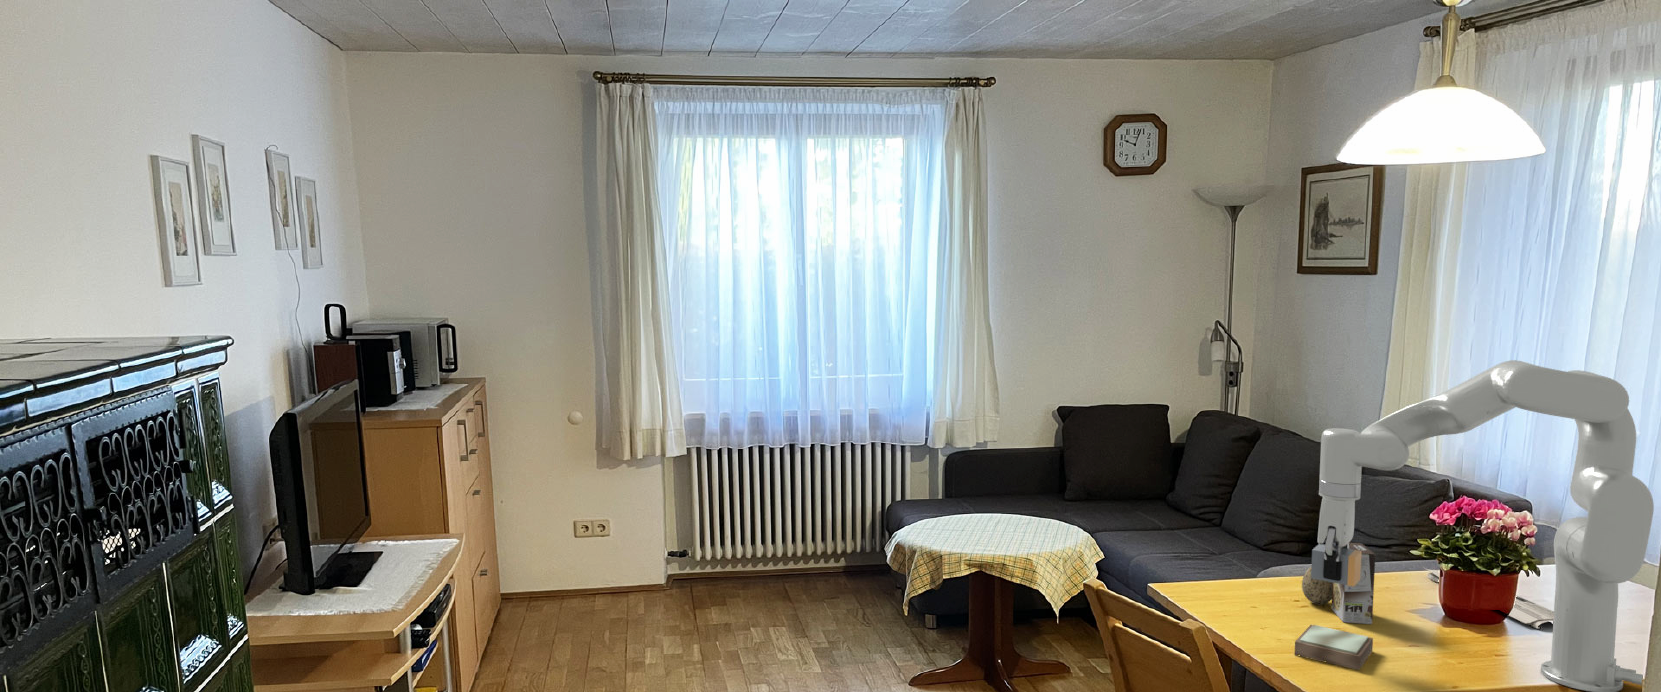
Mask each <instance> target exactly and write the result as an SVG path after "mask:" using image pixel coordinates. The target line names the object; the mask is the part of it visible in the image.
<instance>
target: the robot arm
mask: <svg viewBox="0 0 1661 692" xmlns="http://www.w3.org/2000/svg"><path fill="white" fill-rule="evenodd" d="M1629 405H1630V397H1629V394H1628V391H1627V390H1626V388H1625V386H1623V385H1622V383H1621V382H1618V381H1617V380H1615V379H1613V378H1610V377H1608V376H1604V375H1600V374H1598V373H1594V372H1590V371H1586V370H1578V369H1577V370H1569V371H1566V370H1560V369H1555V368H1549V367H1544V366H1540V365H1536V364H1532V363H1530V362H1526V361H1521V360H1518V359H1517V360H1515V359H1514V360H1513V359H1511V360H1506V361H1502V362H1500V363H1498V364H1496V365H1494V366H1492V367H1490V368H1488V369H1486V370H1484V371H1482V372H1480V373H1478V374H1476V375H1475V376H1473V377H1471V378H1469V379H1466V380H1465V381H1463V382H1461V383H1459V384H1457V385H1455V386H1454V387H1451V388H1449V389H1447V390H1446V391H1444V392H1441V393H1439V394H1437V395H1435V396H1432V397H1429V398H1427V399H1424V400H1422V401H1420V402H1417V403H1413V404H1411V405H1409V406H1406V407H1403V408H1402V409H1399V410H1396V411H1395V412H1393V413H1390V414H1388V415H1386V416H1384V417H1383V418H1381V419H1379V420H1377V421H1375V422H1373V423H1371V424H1370V425H1368V426H1367V427H1365V428H1364V429H1363V430H1362V431H1361V432H1360V431H1358V430H1355V429H1350V428H1342V427H1341V428H1337V427H1334V428H1333V427H1332V428H1327V429H1325V430H1324V431H1323V432H1322V433H1321V436H1320V437H1321V438H1320V458H1319V459H1320V460H1319V461H1320V463H1319V481H1318V483H1319V485H1318V486H1319V487H1318V495H1319V496H1320V497H1322V499H1321V502H1320V503H1321V504H1320V509H1319V520H1318V531H1317V543H1318V544H1323V545H1325V554H1324V569H1323V577H1324V578H1325V579H1331V580H1336V581H1340V580H1341V568H1342V561H1340V557H1341V549H1342V548H1346V549H1349V543H1351V541H1352V539H1353V538H1354V533H1355V532H1354V531H1355V515H1356V514H1355V513H1356V508H1355V507H1356V501H1358V500H1360V499H1361V490H1362V488H1361V487H1362V470H1363V469H1362V468H1364V467H1365V468H1370V469H1374V470H1380V471H1396V470H1398V469H1400V468H1402V467H1403V466H1404V465H1406V464H1407V462H1408V461H1409V457H1410V449H1409V447H1411V446H1412V445H1414V444H1416V443H1419V442H1422V441H1424V440H1427V439H1429V438H1434V437H1438V436H1445V435H1447V436H1449V435H1457V434H1463V433H1468V432H1469V431H1472V430H1474V429H1475V428H1478V427H1479V426H1481V425H1484V424H1485V423H1487V422H1489V421H1491V420H1493V419H1495V418H1497V417H1499V416H1501V415H1504V414H1505V413H1507V412H1509V411H1511V410H1513V409H1516V408H1518V409H1521V410H1525V411H1529V412H1534V413H1538V414H1542V415H1548V416H1553V417H1554V416H1555V417H1559V418H1564V419H1565V418H1566V419H1571V420H1574V422H1575V423H1576V426H1577V430H1578V432H1577V433H1578V440H1577V441H1578V442H1577V450H1576V456H1575V461H1574V466H1573V470H1572V471H1573V472H1572V475H1571V481H1570V486H1569V488H1570V489H1569V492H1570V496H1571V498H1572V500H1573V501H1574V503H1575V504H1577V506H1578V507H1580V508H1582V509H1583V510H1584V511H1586V512H1587V516H1578V517H1577V516H1576V517H1572V518H1569V519H1568V520H1565V521H1564V522H1562V524H1560V525H1559V526H1558V527H1557V528H1558V529H1556V532H1555V535H1554V538H1553V552H1554V554H1553V555H1554V563H1555V590H1554V591H1555V593H1554V603H1553V604H1554V606H1553V608H1554V609H1553V611H1554V620H1553V624H1552V626H1553V627H1552V639H1551V654H1550V655H1551V659H1550V660H1547V661H1544V662H1543V663H1541V664H1540V672H1541V674H1542V675H1543V676H1544V677H1545V678H1547V679H1549V680H1550V681H1553V682H1554V683H1557V684H1559V685H1562V686H1565V687H1568V688H1572V689H1576V690H1581V691H1586V692H1619V691H1621V690H1623V688H1624V681H1625V682H1629V683H1631V684H1636V685H1640V686H1643V685H1642V679H1643V675H1644V674H1641V673H1637V670H1636V669H1635V670H1634V669H1632V668H1625V667H1621V666H1620V665H1618V664H1617V658H1615V651H1616V649H1615V647H1616V634H1617V632H1616V631H1617V619H1618V606H1619V604H1618V603H1619V584H1622V583H1626V582H1628V581H1630V580H1632V579H1633V578H1634V577H1635V576H1637V574H1638V573H1639V572H1640V570H1641V569H1642V566H1643V564H1644V561H1645V557H1646V554H1647V548H1648V544H1649V538H1650V533H1651V527H1652V522H1653V517H1654V510H1655V508H1654V507H1655V506H1654V499H1653V496H1652V492H1651V491H1650V489H1649V488H1648V486H1647V484H1645V483H1644V482H1643V481H1642V480H1641V479H1640V478H1638V477H1636V476H1634V475H1633V470H1634V464H1635V455H1636V449H1637V448H1636V446H1637V430H1636V429H1637V428H1636V424H1635V421H1634V419H1633V416H1632V414H1631V412H1630V410H1629V408H1628V407H1629ZM1324 543H1325V544H1324ZM1337 543H1338V544H1337ZM1334 549H1337V554H1336V551H1335V550H1334Z"/></svg>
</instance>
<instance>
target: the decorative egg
mask: <svg viewBox="0 0 1661 692" xmlns="http://www.w3.org/2000/svg"><path fill="white" fill-rule="evenodd" d="M1301 581H1302V582H1301V590H1302V593H1303V595H1304V596H1305V598H1306V599H1307V600H1308V601H1310V602H1311V603H1313V604H1315V605H1326V604H1328V603H1329V602H1332V582H1328V581H1323V580H1318V579H1312V578H1311V566H1310V567H1308V569H1307V570H1306V571H1305V573H1304V574H1303V577H1302V580H1301Z"/></svg>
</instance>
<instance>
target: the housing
mask: <svg viewBox="0 0 1661 692" xmlns="http://www.w3.org/2000/svg"><path fill="white" fill-rule="evenodd" d="M1334 550H1335V551H1336V554H1337V549H1334ZM1361 552H1362V551H1358V550H1352V549H1346V548H1342V549H1341V557H1340V561H1342V568H1341V580H1340V581H1336V580H1331V579H1325V578H1324V577H1323V569H1324V554H1325V544H1324V543H1323V544H1319V543H1318V544H1317V545H1315V547H1313V549H1311V566H1310V567H1311V578H1312V579H1318V580H1323V581H1328V582H1333V583H1338V584H1343V585H1348V586H1355V585H1356V584H1357V583H1358V581H1359V580H1360V573H1361Z"/></svg>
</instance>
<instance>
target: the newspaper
mask: <svg viewBox="0 0 1661 692" xmlns="http://www.w3.org/2000/svg"><path fill="white" fill-rule="evenodd" d="M1422 567H1423V569H1425V570H1427V571H1428V572H1430V573H1427V578H1428V579H1429V580H1430V581H1433V582H1434V583H1437V582H1438V580H1439V572H1438V570H1439V569H1430V568H1429V569H1427V568H1425V567H1424V566H1422ZM1516 596H1517V597H1516V601H1515V605H1514V609H1513V610H1512V612H1511V614H1509V615H1508V617H1511V618H1513V619H1515V620H1518V621H1520V622H1521V623H1523V624H1526V625H1528V626H1530V625H1531V627H1533V628H1535V629H1538V630H1539V629H1540V627H1541V626H1540V625H1542V624H1544V623H1548V621H1553V620H1554V610H1551V609H1549V608H1546V607H1544V606H1543V605H1540V604H1538V603H1535V602H1532V601H1530V600H1527V599H1525V598H1523V597H1521V596H1518V595H1516ZM1538 626H1539V627H1538Z"/></svg>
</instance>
